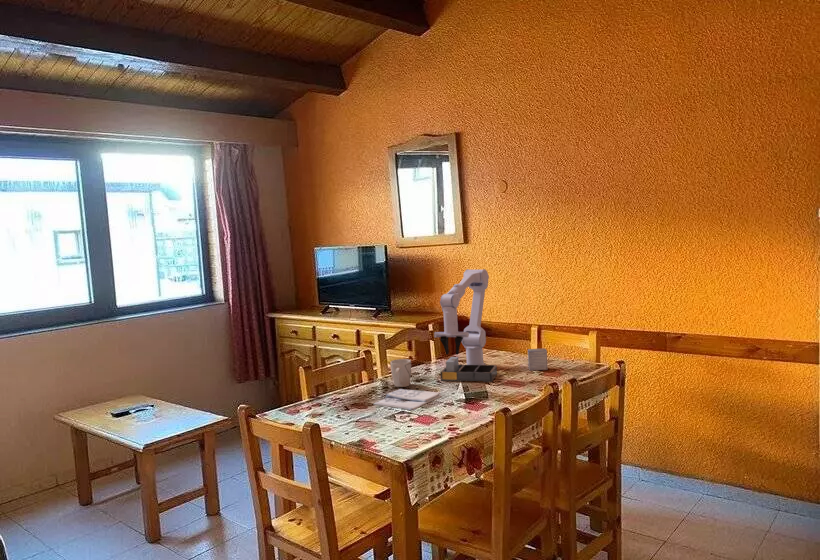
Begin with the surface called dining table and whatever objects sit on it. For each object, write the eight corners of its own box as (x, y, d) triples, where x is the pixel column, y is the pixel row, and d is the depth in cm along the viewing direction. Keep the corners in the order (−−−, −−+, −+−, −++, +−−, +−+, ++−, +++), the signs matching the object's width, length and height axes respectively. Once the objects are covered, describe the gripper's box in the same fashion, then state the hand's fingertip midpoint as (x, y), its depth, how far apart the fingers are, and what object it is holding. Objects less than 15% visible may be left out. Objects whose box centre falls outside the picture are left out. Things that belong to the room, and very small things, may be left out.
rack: (448, 372, 267) (448, 364, 267) (496, 373, 261) (496, 365, 261) (440, 381, 254) (440, 372, 254) (491, 382, 248) (491, 373, 248)
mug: (408, 390, 243) (407, 365, 243) (387, 390, 245) (386, 365, 244) (414, 382, 255) (412, 358, 254) (394, 382, 256) (392, 359, 255)
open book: (442, 397, 232) (441, 392, 232) (412, 412, 216) (412, 406, 216) (401, 392, 243) (400, 386, 243) (369, 406, 227) (369, 400, 226)
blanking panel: (451, 373, 264) (450, 357, 263) (458, 373, 263) (458, 357, 262) (446, 378, 255) (445, 361, 255) (454, 378, 254) (453, 361, 254)
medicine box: (546, 367, 267) (545, 348, 266) (547, 370, 263) (547, 350, 262) (528, 368, 268) (527, 348, 267) (529, 370, 263) (528, 350, 263)
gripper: (431, 324, 256) (433, 356, 257) (465, 323, 252) (467, 356, 253) (435, 321, 263) (437, 352, 264) (469, 320, 259) (470, 352, 260)
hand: (452, 354), depth 259 cm, fingers open, 4 cm apart
